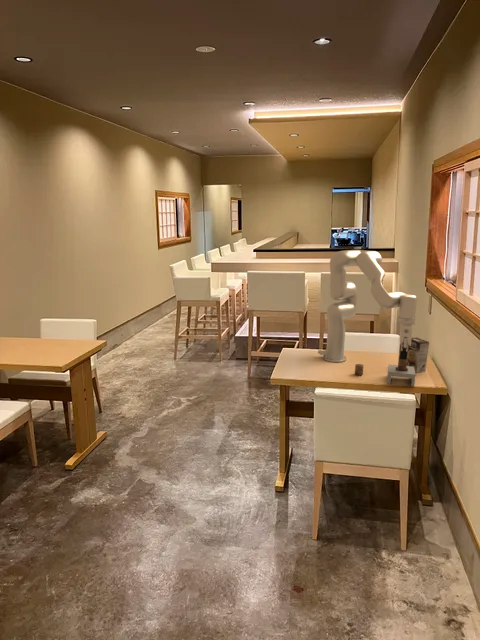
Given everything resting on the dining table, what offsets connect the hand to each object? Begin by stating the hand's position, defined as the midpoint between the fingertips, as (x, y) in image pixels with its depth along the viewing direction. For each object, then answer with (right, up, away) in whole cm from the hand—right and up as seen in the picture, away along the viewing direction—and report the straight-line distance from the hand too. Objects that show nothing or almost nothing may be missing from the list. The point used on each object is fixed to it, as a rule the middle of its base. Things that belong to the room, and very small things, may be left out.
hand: (403, 357), depth 242 cm
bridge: (0, -12, +3) cm, 12 cm away
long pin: (0, -6, +1) cm, 6 cm away
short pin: (-19, -10, +11) cm, 24 cm away
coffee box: (+13, -8, +21) cm, 26 cm away
